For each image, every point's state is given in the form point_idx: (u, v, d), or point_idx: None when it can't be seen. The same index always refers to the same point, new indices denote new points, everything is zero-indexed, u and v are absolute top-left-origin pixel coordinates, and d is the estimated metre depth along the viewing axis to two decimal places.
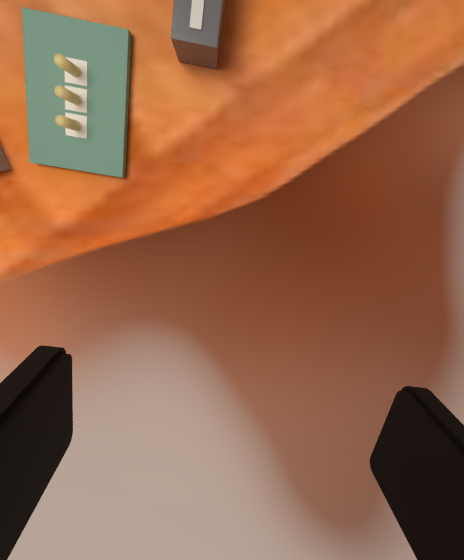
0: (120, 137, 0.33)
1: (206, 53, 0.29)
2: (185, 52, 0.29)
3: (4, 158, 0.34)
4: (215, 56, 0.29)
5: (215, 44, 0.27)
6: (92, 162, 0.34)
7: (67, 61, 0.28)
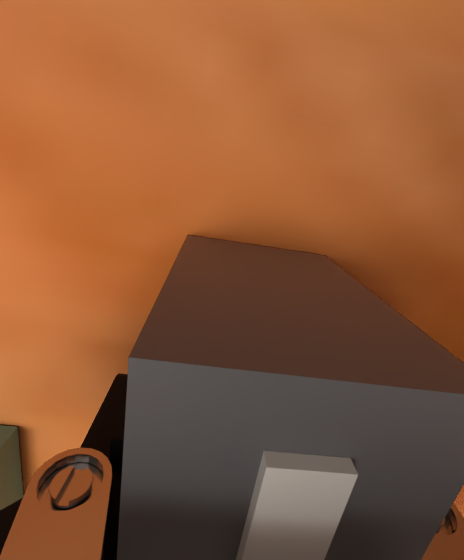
0: None
1: None
2: None
3: None
4: None
5: None
6: None
7: None
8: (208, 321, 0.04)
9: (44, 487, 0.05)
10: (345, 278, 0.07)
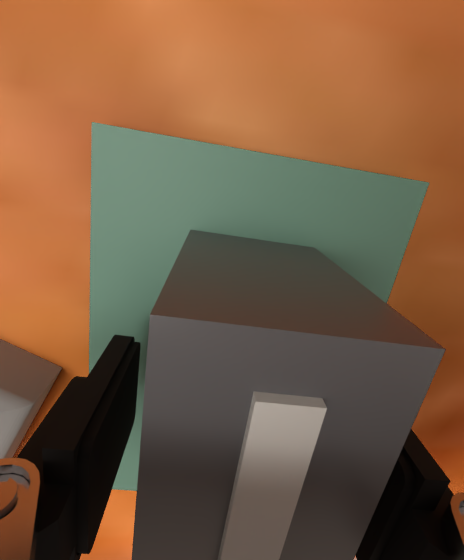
0: None
1: None
2: None
3: (29, 362, 0.12)
4: None
5: None
6: None
7: None
8: (209, 293, 0.05)
9: None
10: (329, 265, 0.08)
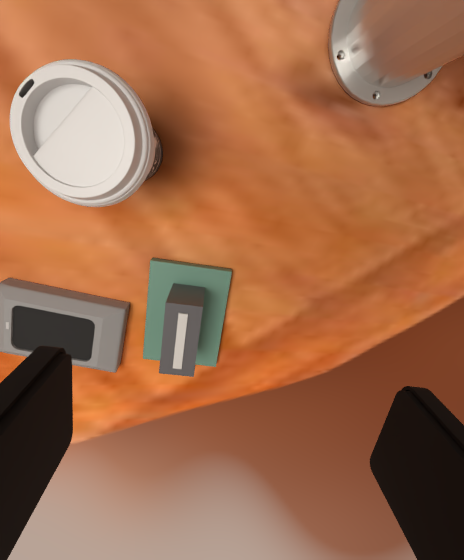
0: (217, 340, 0.41)
1: None
2: None
3: (120, 302, 0.39)
4: None
5: (192, 375, 0.36)
6: None
7: None
8: (173, 299, 0.33)
9: None
10: (202, 293, 0.36)
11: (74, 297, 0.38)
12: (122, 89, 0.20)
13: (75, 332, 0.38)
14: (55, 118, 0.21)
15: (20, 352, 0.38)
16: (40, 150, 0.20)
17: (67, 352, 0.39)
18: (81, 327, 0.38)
